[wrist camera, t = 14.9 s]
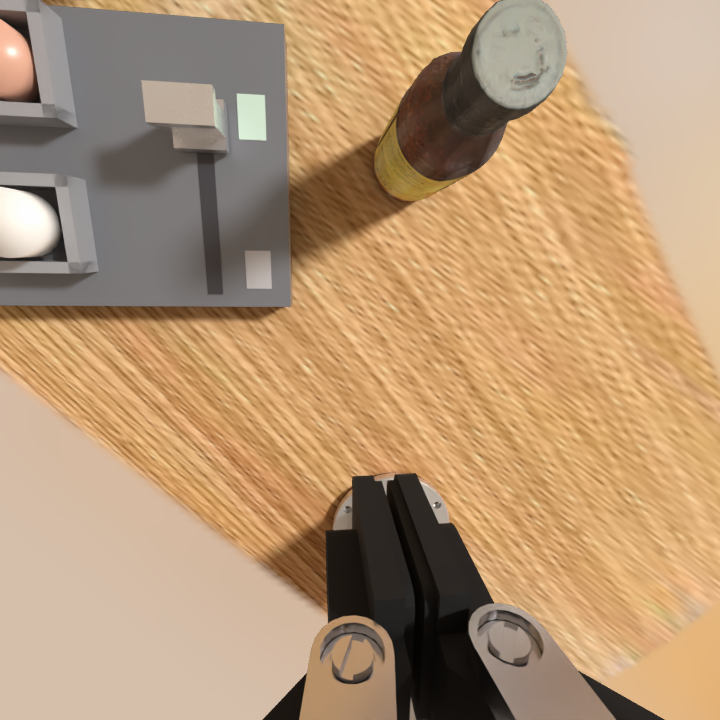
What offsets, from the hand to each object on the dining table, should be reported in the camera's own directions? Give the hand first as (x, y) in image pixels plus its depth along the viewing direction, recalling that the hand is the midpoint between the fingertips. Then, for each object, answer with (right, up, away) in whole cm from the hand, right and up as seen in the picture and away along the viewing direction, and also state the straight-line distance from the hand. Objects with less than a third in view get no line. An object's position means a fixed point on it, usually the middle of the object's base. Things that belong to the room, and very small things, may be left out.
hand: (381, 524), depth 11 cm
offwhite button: (-24, +14, +18) cm, 33 cm away
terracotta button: (-24, +24, +17) cm, 38 cm away
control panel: (-18, +19, +22) cm, 35 cm away
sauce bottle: (+3, +21, +25) cm, 33 cm away
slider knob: (-12, +21, +19) cm, 31 cm away
